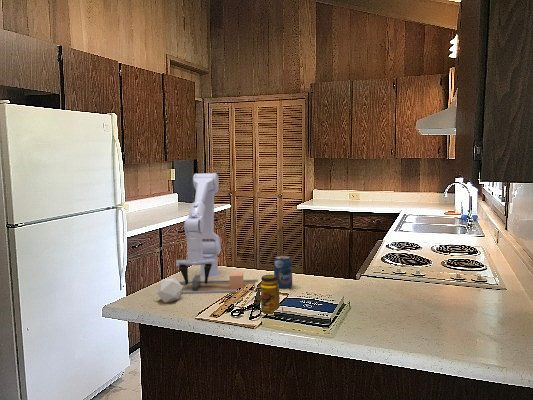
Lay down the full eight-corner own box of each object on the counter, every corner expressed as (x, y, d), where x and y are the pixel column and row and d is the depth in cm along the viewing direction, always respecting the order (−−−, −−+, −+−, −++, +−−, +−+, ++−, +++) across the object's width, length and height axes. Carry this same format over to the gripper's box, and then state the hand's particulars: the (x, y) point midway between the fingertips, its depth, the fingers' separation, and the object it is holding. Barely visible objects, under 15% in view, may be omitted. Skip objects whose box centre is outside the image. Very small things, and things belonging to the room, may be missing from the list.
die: (178, 296, 165) (161, 277, 164) (191, 289, 160) (174, 269, 159) (165, 311, 159) (147, 290, 158) (178, 303, 154) (160, 282, 153)
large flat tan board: (195, 284, 178) (194, 273, 178) (255, 283, 178) (254, 272, 178) (190, 293, 166) (189, 282, 166) (254, 292, 166) (254, 280, 166)
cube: (230, 285, 175) (230, 272, 174) (243, 284, 175) (243, 272, 174) (229, 288, 170) (229, 275, 169) (242, 288, 170) (242, 275, 169)
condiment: (258, 316, 141) (257, 279, 140) (261, 307, 150) (260, 272, 149) (281, 316, 141) (280, 279, 140) (283, 307, 149) (282, 272, 148)
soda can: (281, 291, 166) (281, 260, 165) (270, 287, 172) (270, 256, 171) (296, 287, 170) (295, 257, 169) (284, 284, 176) (284, 254, 175)
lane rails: (168, 284, 180) (168, 281, 180) (257, 282, 180) (257, 279, 179) (160, 295, 165) (159, 292, 165) (257, 293, 165) (257, 290, 165)
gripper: (174, 251, 167) (175, 287, 168) (212, 250, 167) (214, 286, 168) (177, 247, 174) (179, 281, 175) (214, 246, 174) (216, 280, 175)
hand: (196, 283), depth 172 cm, fingers open, 7 cm apart
